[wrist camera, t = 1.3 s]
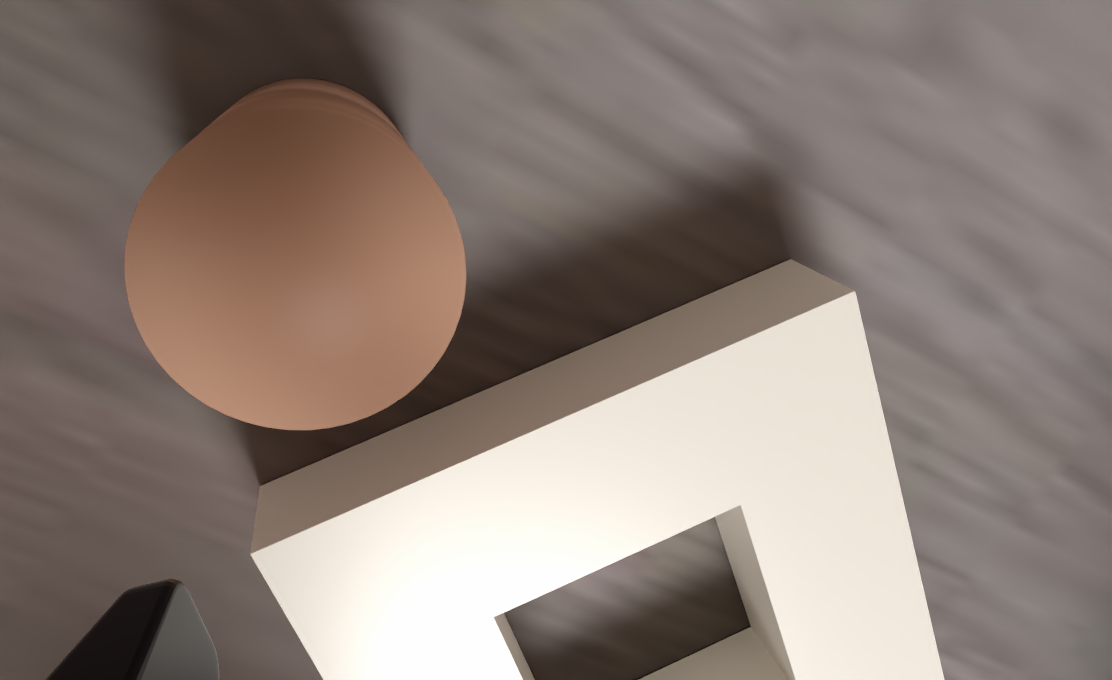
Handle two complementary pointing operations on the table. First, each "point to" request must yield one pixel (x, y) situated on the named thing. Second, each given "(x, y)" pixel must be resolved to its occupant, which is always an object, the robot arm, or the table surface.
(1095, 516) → the table surface
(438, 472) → the socket
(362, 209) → the peg
